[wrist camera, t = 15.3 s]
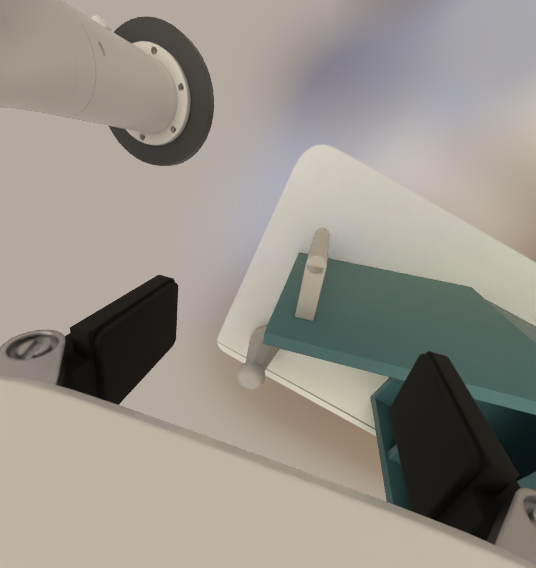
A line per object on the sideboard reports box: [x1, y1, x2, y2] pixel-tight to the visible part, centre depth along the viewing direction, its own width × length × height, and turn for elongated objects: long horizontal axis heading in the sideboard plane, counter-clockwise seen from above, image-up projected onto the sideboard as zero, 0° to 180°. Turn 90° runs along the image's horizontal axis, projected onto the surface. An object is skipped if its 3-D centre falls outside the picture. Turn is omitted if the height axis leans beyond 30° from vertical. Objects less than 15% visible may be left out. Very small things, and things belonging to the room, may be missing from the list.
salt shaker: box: [237, 326, 279, 390], centre depth 46 cm, size 6×6×13 cm
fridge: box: [371, 299, 536, 511], centre depth 35 cm, size 18×26×24 cm
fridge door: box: [263, 228, 536, 415], centre depth 30 cm, size 8×26×24 cm, turn 82°
